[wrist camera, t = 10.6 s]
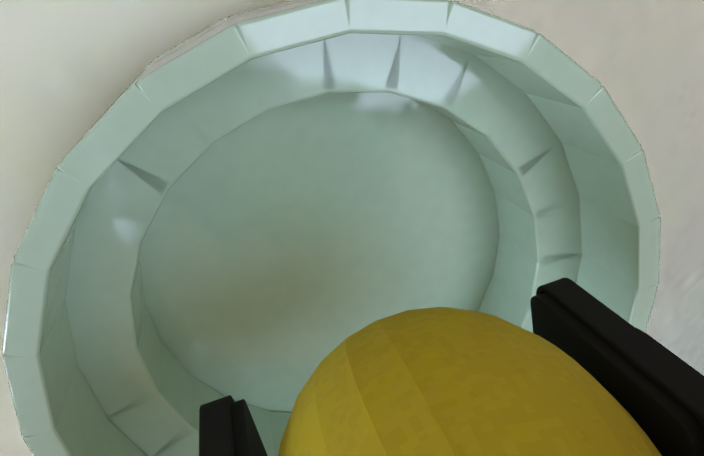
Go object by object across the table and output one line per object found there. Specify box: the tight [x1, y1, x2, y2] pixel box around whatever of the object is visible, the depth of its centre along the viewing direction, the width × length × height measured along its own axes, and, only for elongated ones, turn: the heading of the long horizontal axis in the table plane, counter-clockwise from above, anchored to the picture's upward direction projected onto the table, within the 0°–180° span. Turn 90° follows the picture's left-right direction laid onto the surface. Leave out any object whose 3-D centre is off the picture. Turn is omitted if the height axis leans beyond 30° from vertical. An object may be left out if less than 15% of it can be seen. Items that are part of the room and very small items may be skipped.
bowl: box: [2, 0, 661, 456], centre depth 14 cm, size 14×14×5 cm
